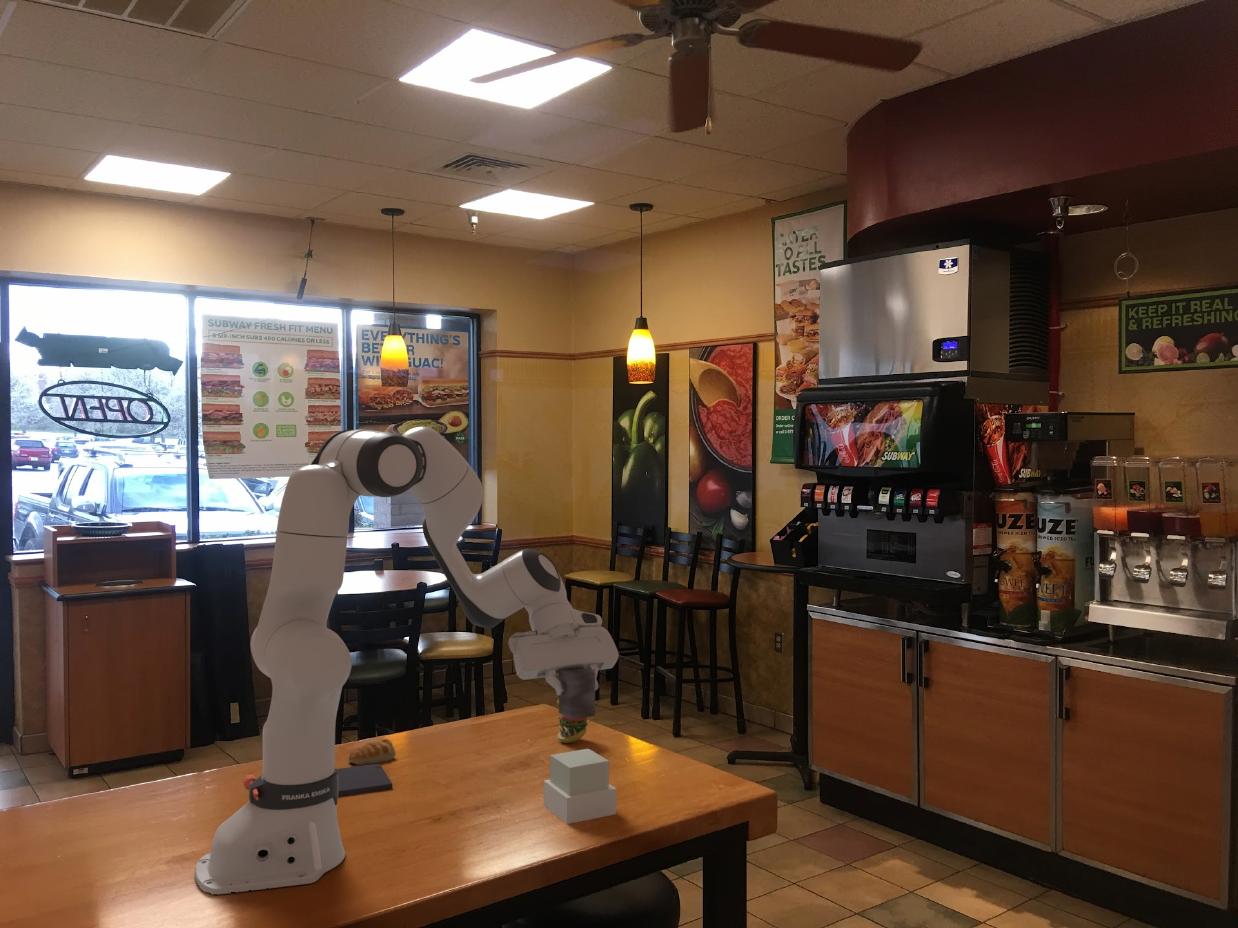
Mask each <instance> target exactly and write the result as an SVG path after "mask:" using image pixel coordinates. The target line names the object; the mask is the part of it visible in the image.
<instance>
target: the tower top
mask: <svg viewBox="0 0 1238 928" xmlns="http://www.w3.org/2000/svg"><path fill="white" fill-rule="evenodd" d="M549 759H550V760H549V762H550V764H549V765H550V767H549V769H550V770H549V779H550V782H551V783H552V784H554V785H555V786H557V787H558V788H559V789H561V790H562V791H564V792H565V793H566V794H568V795H569V796H570V795H575V794H581V793H586V792H591V791H596V790H601V789H606V788H609V784H610V778H609V775H610V772H609V771H610V761H609V760H608V759H607V758H605V757H603V756H602V755H600V754H598V753H596V752H595V751H593V750H592V749H589V748H584V749H579V750H578V749H577V750H573V751H566V752H562V753H561V752H560V753H554V754H550V755H549Z"/></svg>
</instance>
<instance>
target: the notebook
mask: <svg viewBox="0 0 1238 928" xmlns="http://www.w3.org/2000/svg"><path fill="white" fill-rule="evenodd" d="M335 769H336V770H337V775H338V797H343V796H350V795H356V794H357V795H359V794H363V793H364V794H365V793H371V792H372V793H373V792H378V791H385V790H392V789H393V783H392V781H391V779H390V778H389V776H388V775H387V773H386V771H385V770H384V768H383V766H382V765H381V764H379V763H374V764H363V765H356V766H348V767H342V768H341V767H339V768H335Z"/></svg>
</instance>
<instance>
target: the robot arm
mask: <svg viewBox="0 0 1238 928" xmlns="http://www.w3.org/2000/svg"><path fill="white" fill-rule="evenodd" d="M407 491H409V492H410V494H411V495H412V496H413V497H414V499H416V500H417V502H418V503H419V504H420V506H421V508H422V509H423V512H424V515H425V518H424V520H423V521H422V533H423V536H424V540H425V542H426V544H427V546H428V548H429V550H430V552H431V554H432V555H433V558H434V559H435V562H436V563H437V564H438V566H439V568H440V570H441V571H442V573H443V574H444V576H445V578H446V580H447V582H448V583H449V585H450V587H451V589H452V590H453V591H454V593H455V596H456V598H457V600H458V601H459V604H460V606H461V608H462V611H463V613H464V615H465V616H466V618H467V620H468V621H469V622H470V624H472V625H474V626H477V627H480V628H487V629H493V628H495V627H496V626H497V625H499V624H500V623H502V622H503V621H504V620H506V619H507V618H508V617H509V616H512V615H513V614H515V613H517V612H518V611H519V610H522V609H523V608H524V609H525V610H526V612H528V622H529V625H530V628H531V630H530V631H525V632H515V633H513V635H511V636H510V637H508V641H507V644H508V647H509V649H510V652H511V653H512V654H513V655H512V656H513V663H514V664H513V665H514V668H515V672H516V676H517V677H518V678H519V679H521V680H524V681H525V680H531V679H532V680H534V679H540V678H545V682H546V683H547V684H549V685H550V686H551V687H552V688H553V689H554V690H555V692H556V693H555V694H556V696H558V697H559V695H565V694H566V692H567V688H566V685H565V682H562V683H561V682H560V681H559V678H557V677H556V676H559V670H561V669H569V668H577V667H584V668H587V669H589V670H591V671H593V672H595V691H597V690H598V689H599V682H598V680H597V677H598V674H599V671H601V670H603V671H604V670H610V669H612V668H614V666H615V665H616V663H617V661H618V659H619V651H618V648H617V646H616V644H615V641H614V639H613V638H612V634H610V632H609V631H608V630H607V629H606V628H605V627H603V626H602V625H603V619H602V616H600V615H599V614H595V613H590V612H586V611H581V610H578V609H575V608H573V605H572V604H571V602H570V601H569V600H568V595H567V590H566V587H565V584H564V582H563V580H562V577H561V575H560V573H559V571H558V568H557V567H556V565H555V563H554V561H553V560H552V559H551V558H550V557H549V556H548V555H547V554H545V553H543V552H541V551H538V550H534V549H531V548H530V549H529V548H524V549H521V550H520V551H517V552H515V553H514V554H512V555H510V556H509V557H506V558H505V559H503V560H502V561H501V562H499V563H497V564H496V565H494V566H493V567H491V568H488V570H485V571H484V572H482V573H473V572H472V571H471V570H470V567H469V566H468V564H467V562H466V560H465V558H464V557H463V555H462V553H461V551H460V550H459V548H458V546H457V543H458V541H459V540H460V538H461V536H462V535H463V534H464V532H465V531H466V530H467V528H468V527H469V526H470V525H471V524H472V523H473V521H474V520H475V518H476V517H477V515H478V513H479V512H480V509H481V506H482V503H483V499H484V489H483V484H482V482H481V479H480V478H479V476H478V475H477V473H476V472H475V470H474V469H473V468H472V466H471V465H470V464H469V462H468V461H467V460H466V459H465V457H463V456H462V454H461V453H460V451H458V449H456V447H454V446H453V444H451V443H450V441H448V440H447V439H446V438H445V437H444V436H442V434H440V433H439V432H438V431H436V430H435V429H433V428H432V427H429V426H423V425H420V426H417V427H416V426H415V427H412V428H410V429H408V430H406V431H404V432H403V433H402V434H399V433H395V432H390V431H384V432H383V431H379V430H376V429H371V428H370V429H369V428H360V429H345V430H340V431H338V432H337V431H336V433H333V434H331V435H330V436H328V438H327V439H326V440H325V441H323V442H322V444H321V445H320V448H319V449H318V451H317V453H316V456H315V457H314V459H313V460H312V462H311V463H310V464H309V465H304V466H300V467H299V468H297V469H295V470H294V471H293V472H292V473H291V474H290V476H289V477H288V479H287V483H286V486H285V489H284V493H283V496H282V499H281V504H280V507H279V508H280V509H279V513H278V518H277V526H276V533H275V542H274V549H273V550H274V552H273V559H272V566H271V567H272V568H271V575H270V580H269V584H268V585H269V586H268V588H267V592H266V595H265V599H264V602H263V606H262V609H261V612H260V615H259V620H258V623H257V624H258V625H257V626H256V627H255V629H254V630H253V633H252V635H251V638H250V651H251V655H252V658H253V661H254V663H255V665H256V667H257V668H258V670H259V671H260V672H261V673H262V674H264V675H265V676H267V677H268V678H270V681H271V685H272V689H271V690H272V692H271V701H270V706H269V710H268V715H267V719H266V721H265V722H264V724H263V726H262V774H261V775H260V776H259V777H257V778H256V776H255V775H254V774H248V775H246V776H244V778H243V780H242V783H243V786H244V788H245V790H247V791H248V798H249V799H248V802H246V803H245V804H243V806H241V808H239V809H238V810H237V811H236V812H234V813H233V814H232V815H231V816H230V817H228V818H227V819H226V820H225V821H224V822H222V823H220V824H219V826H218V827H217V829H216V831H215V832H214V836H213V837H212V838H213V839H212V842H211V847H210V853H207V854H204V855H203V856H201V858H200V859H198V861H197V863H196V864H195V869H194V870H195V871H194V879H195V878H196V879H195V882H196V881H197V882H196V884H197V883H198V884H197V886H198V885H199V886H200V887H199V886H198V887H199V889H201V890H202V891H203V890H205V891H206V892H205V891H204V892H205V893H207V892H209V893H211V894H210V895H213V894H217V895H224V894H225V895H227V894H232V893H231V892H235V893H242V892H249V890H251V891H257V890H258V891H259V890H268V889H273V888H274V889H275V888H283V887H291V886H293V887H294V886H299V885H300V886H301V885H307V884H309V885H310V884H313V883H315V882H317V881H319V879H320V878H321V877H322V876H323V875H324V874H325V873H327V872H328V871H331V870H333V869H334V868H336V867H337V866H339V865H340V864H341V863H342V862H343V861H344V859H345V856H346V851H345V847H344V845H343V842H342V841H343V840H342V838H341V833H340V827H339V821H338V814H337V813H338V812H337V811H338V810H337V805H338V798H339V796H338V775H337V770H336V769H337V768H336V767H335V766H336V764H335V763H336V762H335V761H336V749H335V748H336V723H337V722H336V720H337V713H338V710H339V705H340V700H341V695H342V690H343V686H344V685H345V684H346V683H347V680H349V677H350V674H351V670H352V664H353V663H352V655H351V653H350V650H349V648H348V647H347V645H346V643H345V642H344V640H343V639H342V638H341V637H340V635H339V634H338V633H336V632H335V631H333V630H332V629H330V628H328V626H327V624H328V618H329V614H330V612H331V608H332V605H333V602H334V599H335V597H336V595H337V593H338V592H339V590H340V589H341V587H342V585H343V581H344V576H345V575H344V574H345V567H346V566H345V564H346V558H347V556H346V555H347V547H348V539H349V538H348V536H349V526H350V516H351V514H352V513H351V512H352V509H353V507H354V505H355V503H356V501H357V500H358V499H359V498H360V496H361V497H379V498H391V497H396V496H399V495H401V494H403V493H405V492H407ZM267 888H268V889H267ZM209 893H208V894H209Z"/></svg>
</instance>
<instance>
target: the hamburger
mask: <svg viewBox="0 0 1238 928" xmlns="http://www.w3.org/2000/svg"><path fill="white" fill-rule="evenodd" d="M556 704H557V706H559V698H558V699H557V701H556ZM557 720H559V723H558V727H559V732H558V733H557V739H558V740H559V742H561V743H563V744H571V743H575V742H577V741H579V740H581V739H582V737H584V736H585V735H586V733H587V727H588V726H589V724H588V722H587V721H588V720H589V717H584V718H578V719H571V720H570V719H569V718H567V717H565V716H564V715H562V714H560V715H559V716H558V718H557Z"/></svg>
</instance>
